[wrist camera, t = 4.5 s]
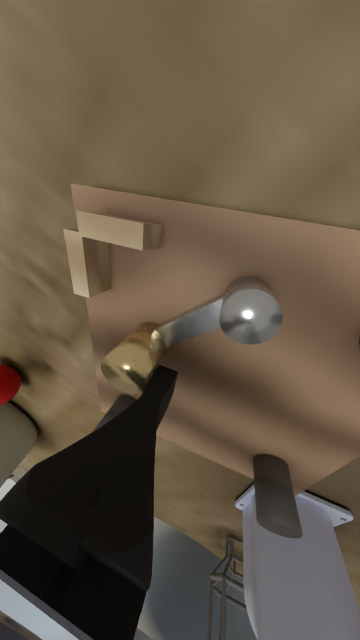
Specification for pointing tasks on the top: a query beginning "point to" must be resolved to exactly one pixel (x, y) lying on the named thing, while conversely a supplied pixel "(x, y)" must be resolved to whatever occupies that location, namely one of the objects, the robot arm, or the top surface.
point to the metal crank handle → (195, 332)
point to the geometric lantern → (224, 587)
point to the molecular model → (8, 383)
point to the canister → (14, 439)
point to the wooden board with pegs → (219, 350)
